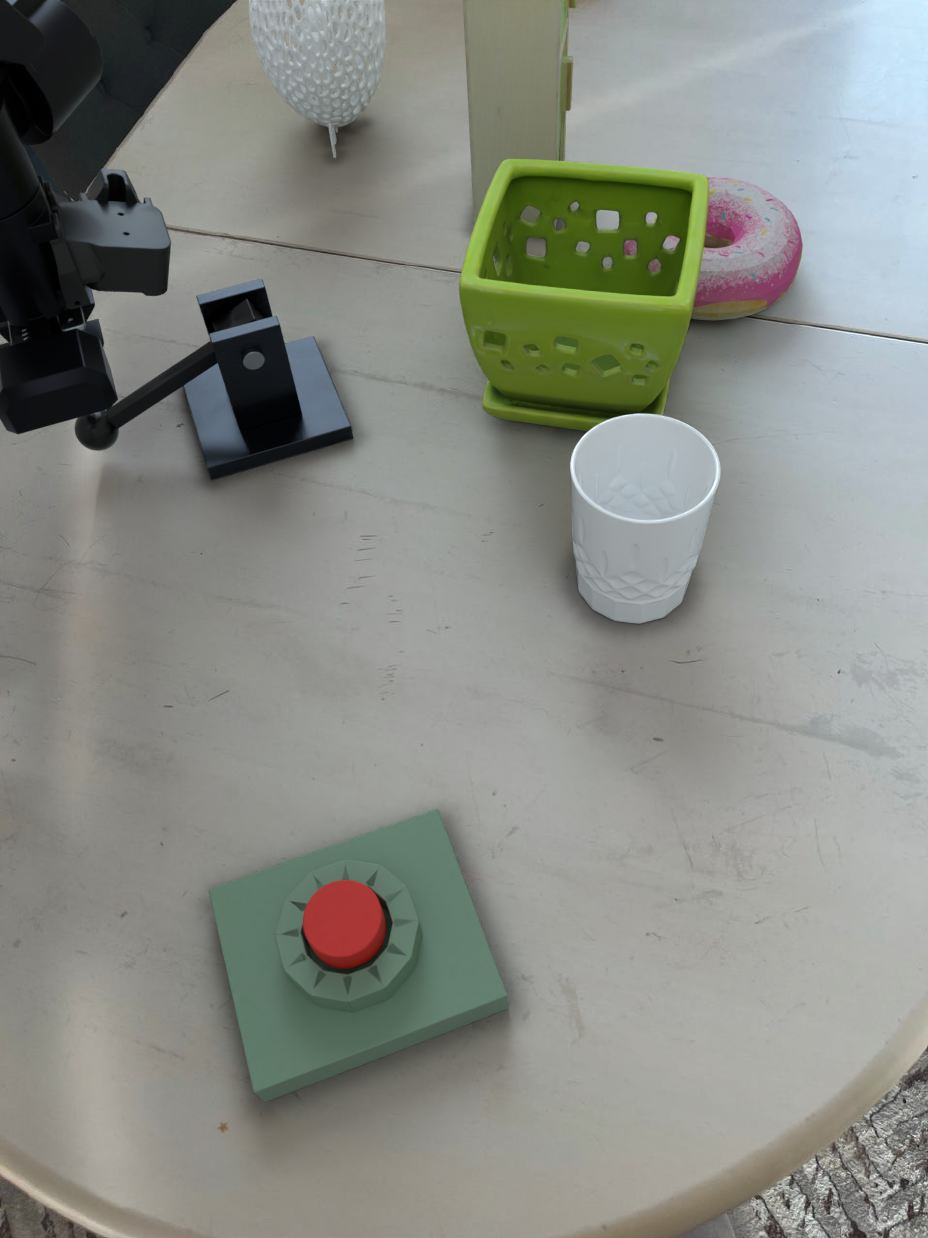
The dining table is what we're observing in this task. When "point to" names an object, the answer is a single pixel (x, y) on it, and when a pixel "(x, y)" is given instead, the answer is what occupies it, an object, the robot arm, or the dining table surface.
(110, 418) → the lever with ball knob
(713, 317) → the donut
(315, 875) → the button housing
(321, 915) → the button
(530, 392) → the flower pot
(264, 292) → the lever base
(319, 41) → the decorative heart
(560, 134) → the toy refrigerator
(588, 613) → the dining table surface
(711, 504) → the white cup
